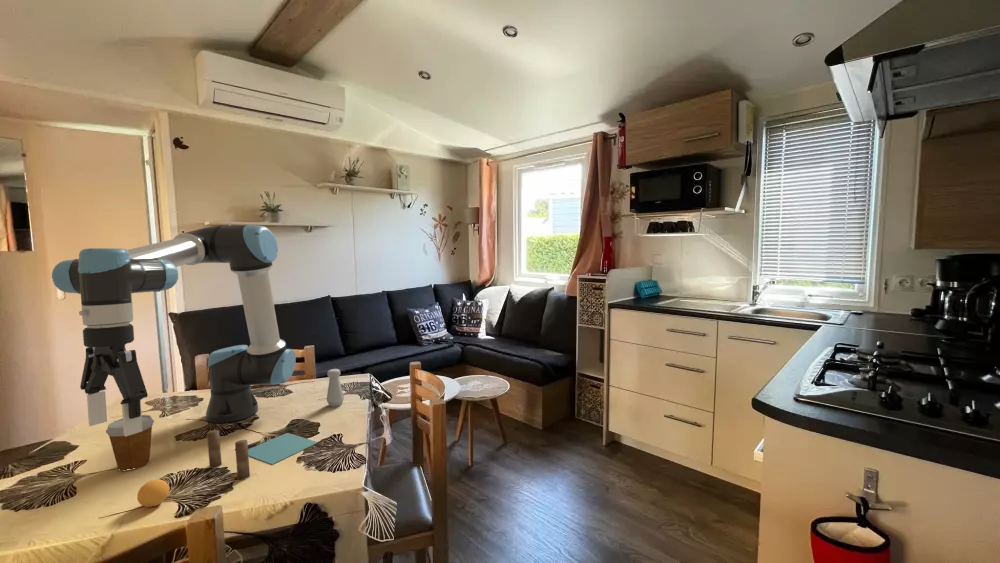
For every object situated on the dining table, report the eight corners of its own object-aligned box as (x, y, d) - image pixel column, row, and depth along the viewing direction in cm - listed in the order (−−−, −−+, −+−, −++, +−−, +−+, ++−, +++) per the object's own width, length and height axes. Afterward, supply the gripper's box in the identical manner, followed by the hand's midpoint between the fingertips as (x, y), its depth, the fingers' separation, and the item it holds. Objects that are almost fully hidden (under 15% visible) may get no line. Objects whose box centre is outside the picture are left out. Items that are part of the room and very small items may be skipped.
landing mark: (241, 453, 118) (241, 452, 118) (287, 433, 130) (287, 432, 130) (272, 464, 111) (272, 464, 111) (318, 442, 123) (318, 442, 123)
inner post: (207, 466, 111) (205, 433, 110) (218, 461, 113) (215, 429, 113) (213, 468, 110) (210, 435, 109) (223, 464, 112) (221, 431, 111)
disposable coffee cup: (129, 457, 117) (125, 415, 116) (165, 455, 118) (162, 413, 117) (99, 475, 107) (94, 429, 106) (139, 473, 108) (135, 427, 107)
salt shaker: (346, 402, 156) (345, 367, 155) (339, 408, 150) (337, 372, 149) (331, 402, 156) (329, 367, 155) (323, 407, 151) (321, 372, 150)
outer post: (235, 478, 105) (232, 443, 104) (245, 473, 107) (243, 438, 107) (241, 481, 104) (238, 445, 103) (252, 475, 106) (249, 441, 105)
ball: (133, 508, 94) (131, 484, 93) (163, 495, 98) (161, 472, 98) (145, 515, 91) (143, 490, 90) (175, 501, 96) (173, 478, 95)
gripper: (54, 324, 88) (61, 425, 89) (118, 331, 77) (125, 446, 78) (100, 319, 94) (106, 413, 95) (165, 325, 84) (171, 430, 85)
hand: (115, 428), depth 87 cm, fingers open, 13 cm apart
